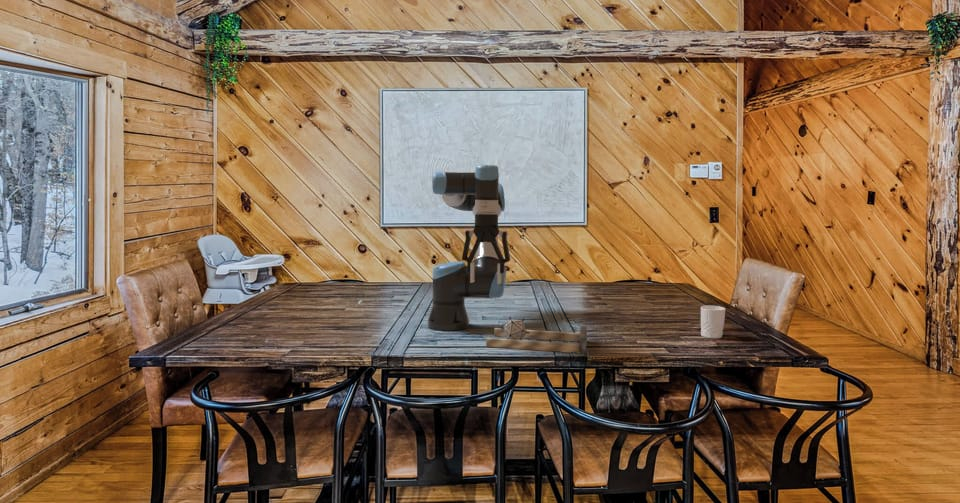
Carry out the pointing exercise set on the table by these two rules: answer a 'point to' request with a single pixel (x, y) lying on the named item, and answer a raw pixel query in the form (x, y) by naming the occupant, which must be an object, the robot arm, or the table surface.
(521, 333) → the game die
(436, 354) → the table surface
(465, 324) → the robot arm
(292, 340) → the table surface
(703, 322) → the white cup
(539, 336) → the guide channel
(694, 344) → the table surface
